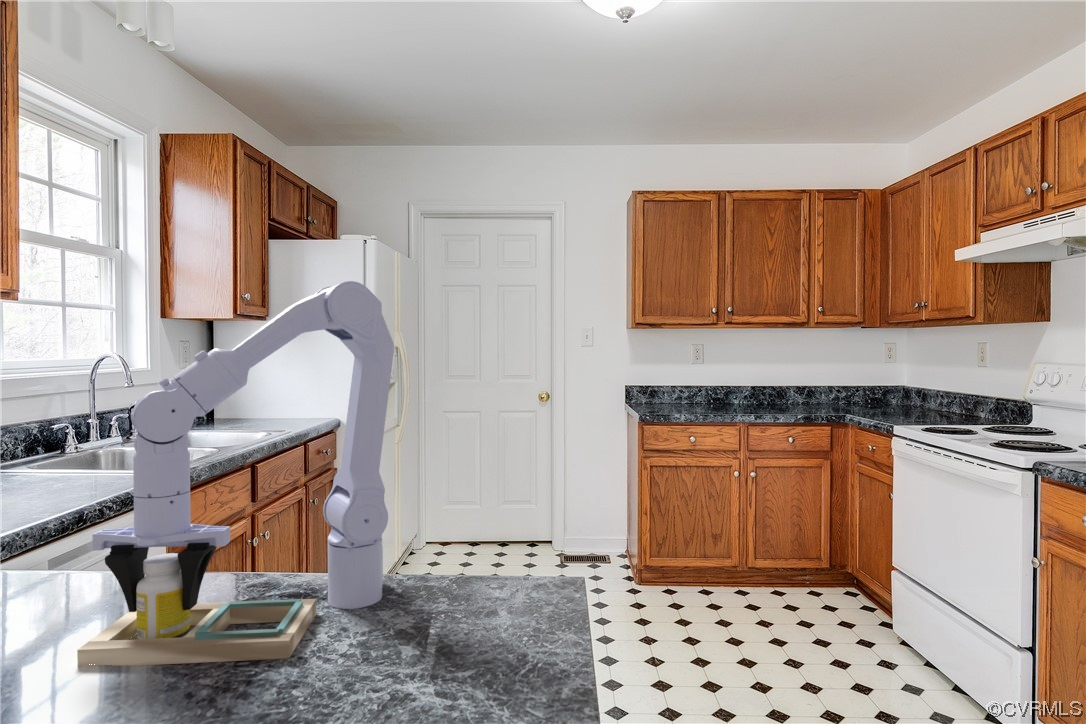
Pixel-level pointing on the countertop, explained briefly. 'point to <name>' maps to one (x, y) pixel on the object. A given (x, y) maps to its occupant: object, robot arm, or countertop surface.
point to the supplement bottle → (161, 599)
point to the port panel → (207, 635)
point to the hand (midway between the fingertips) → (163, 607)
